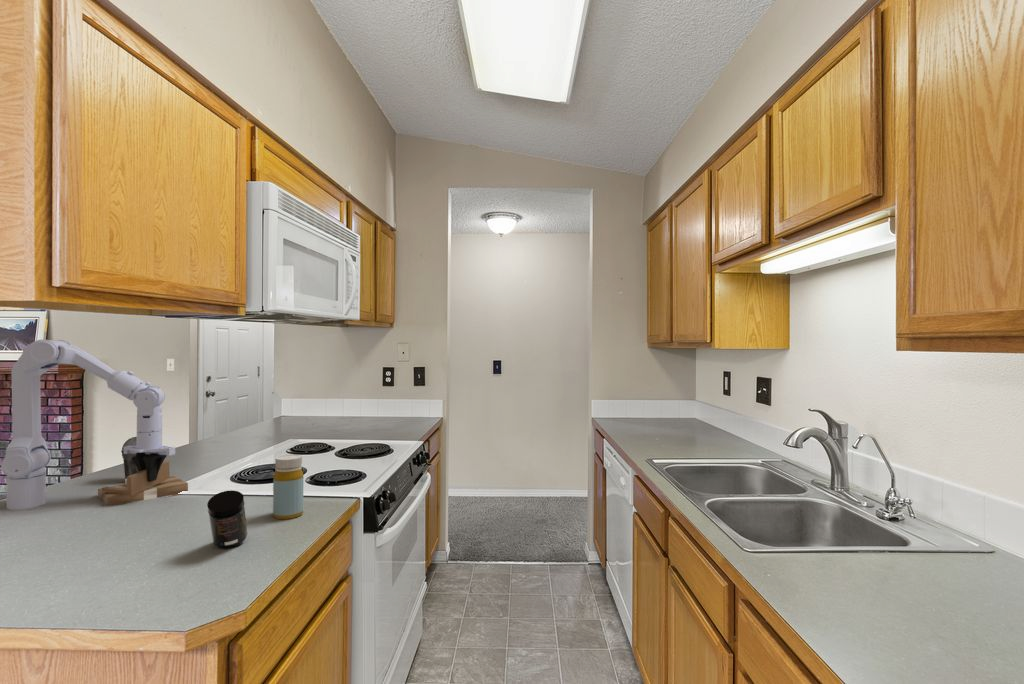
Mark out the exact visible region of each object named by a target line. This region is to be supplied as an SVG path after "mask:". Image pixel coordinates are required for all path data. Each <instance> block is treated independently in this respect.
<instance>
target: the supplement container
mask: <svg viewBox="0 0 1024 684" xmlns="http://www.w3.org/2000/svg"><path fill="white" fill-rule="evenodd" d="M207 513H208V517H209V524H210V530H211V537H212V544H213V545H214V546H215V547H216V548H217V549H221V550H222V549H223V550H224V549H225V550H226V549H232V548H235V547H238V546H240V545H241V544H242V543H243V542H244V541H245V540H246V539H247V536H248V525H247V517H246V508H245V498H244V495H243V493H241V492H240V491H238V490H224V491H221V492H219V493H217V494H215V495H213V496H211V497H210V498H209V500H208V502H207Z"/></svg>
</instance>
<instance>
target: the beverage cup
mask: <svg viewBox="0 0 1024 684" xmlns="http://www.w3.org/2000/svg"><path fill="white" fill-rule="evenodd" d="M136 445H137V436H133V437H130V438H128V439H127V440H126V441H125V442H124V443H123V445H122V447H121V457H122V459H123V469H124V480H125V479H127V476H130V475H132V474H135V473H137V472H139V471H138V468H137V466H136V465H135V463H134V462H133V461H132V457H134V456H136V454H130V453H129V454H124V447H126V446H136Z"/></svg>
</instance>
